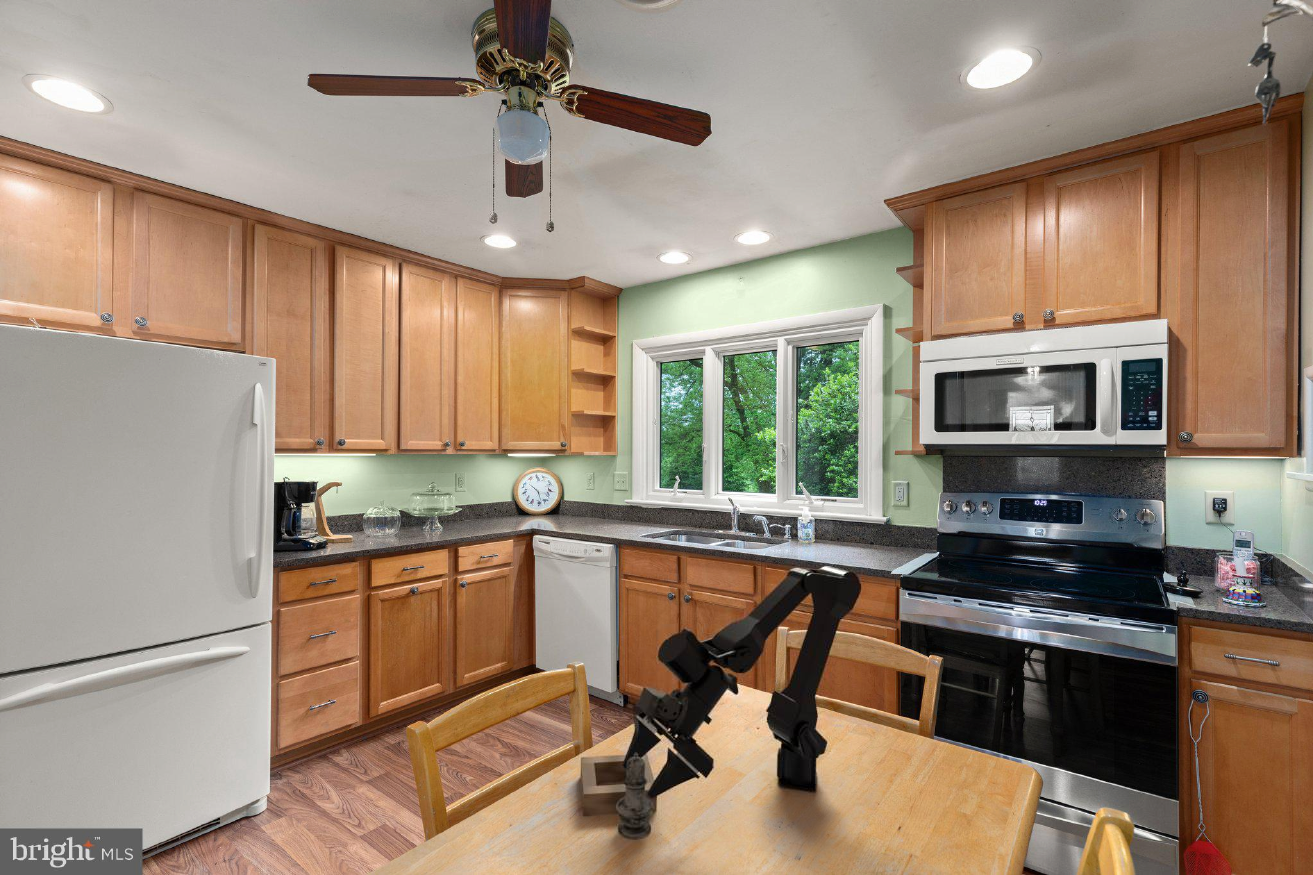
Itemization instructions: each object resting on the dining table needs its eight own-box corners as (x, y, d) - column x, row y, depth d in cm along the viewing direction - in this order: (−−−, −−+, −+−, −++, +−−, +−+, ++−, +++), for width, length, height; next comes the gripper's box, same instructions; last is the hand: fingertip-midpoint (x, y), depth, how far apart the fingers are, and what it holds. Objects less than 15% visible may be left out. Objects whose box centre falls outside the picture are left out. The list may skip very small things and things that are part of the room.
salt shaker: (658, 836, 97) (659, 758, 97) (621, 843, 95) (622, 763, 95) (647, 814, 102) (648, 741, 102) (611, 820, 100) (613, 745, 101)
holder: (646, 772, 115) (646, 753, 115) (656, 810, 103) (657, 789, 104) (580, 776, 113) (580, 757, 113) (583, 815, 102) (583, 794, 102)
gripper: (642, 651, 109) (581, 727, 104) (697, 690, 93) (628, 782, 88) (681, 689, 113) (624, 764, 108) (741, 733, 96) (677, 824, 91)
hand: (636, 781), depth 99 cm, fingers open, 9 cm apart
